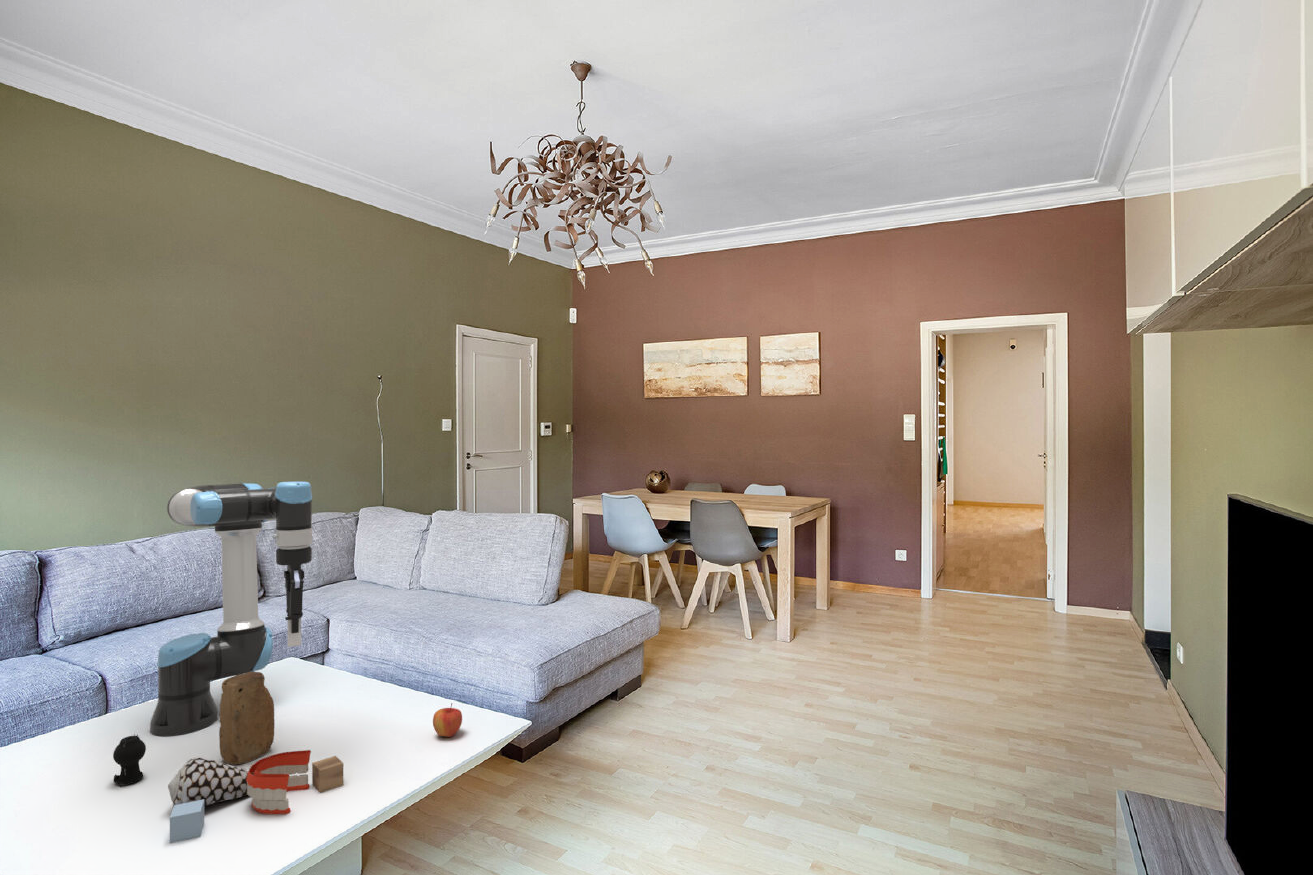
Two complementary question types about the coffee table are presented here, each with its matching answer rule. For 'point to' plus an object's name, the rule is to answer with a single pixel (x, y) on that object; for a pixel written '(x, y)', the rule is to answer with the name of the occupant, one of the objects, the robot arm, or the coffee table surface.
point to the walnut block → (327, 774)
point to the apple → (447, 721)
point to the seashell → (207, 782)
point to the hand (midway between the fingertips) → (294, 645)
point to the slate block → (187, 821)
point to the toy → (277, 780)
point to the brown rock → (245, 718)
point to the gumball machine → (129, 760)
